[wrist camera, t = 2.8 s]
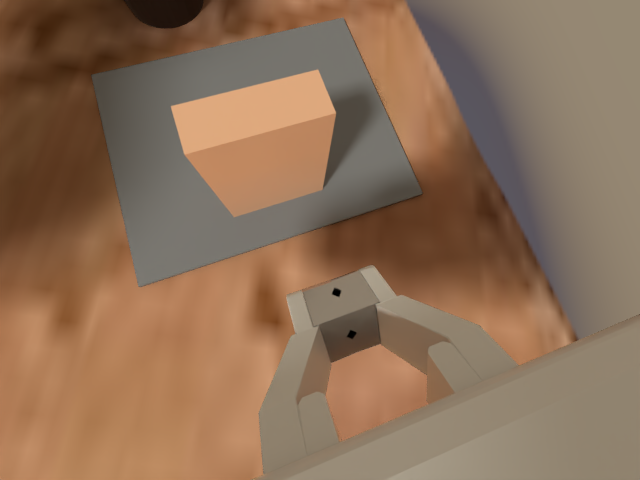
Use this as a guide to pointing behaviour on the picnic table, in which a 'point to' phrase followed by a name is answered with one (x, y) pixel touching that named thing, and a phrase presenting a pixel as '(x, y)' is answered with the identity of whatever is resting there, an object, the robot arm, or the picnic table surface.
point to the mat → (192, 190)
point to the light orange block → (260, 141)
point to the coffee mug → (165, 11)
